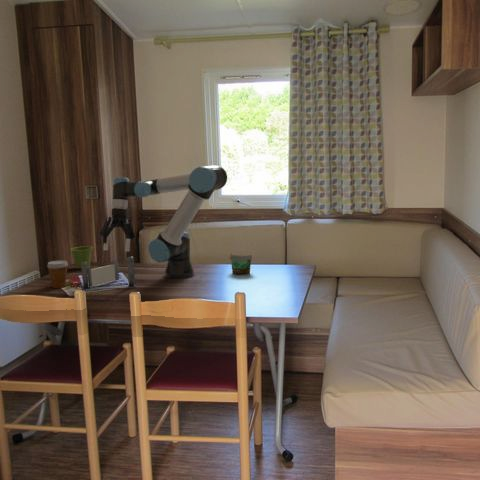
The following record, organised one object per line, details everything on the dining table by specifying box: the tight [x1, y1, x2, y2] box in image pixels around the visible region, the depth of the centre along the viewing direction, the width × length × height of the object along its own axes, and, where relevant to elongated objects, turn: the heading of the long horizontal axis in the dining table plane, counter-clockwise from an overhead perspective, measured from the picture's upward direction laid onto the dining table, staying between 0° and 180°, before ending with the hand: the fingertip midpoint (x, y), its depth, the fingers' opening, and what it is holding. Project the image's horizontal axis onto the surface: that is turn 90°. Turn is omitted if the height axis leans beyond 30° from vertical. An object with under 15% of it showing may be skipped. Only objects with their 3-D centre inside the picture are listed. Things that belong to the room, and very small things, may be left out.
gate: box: [87, 259, 120, 288], centre depth 254 cm, size 17×2×10 cm, turn 141°
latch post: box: [126, 255, 137, 289], centre depth 248 cm, size 4×4×15 cm
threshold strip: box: [90, 285, 128, 290], centre depth 248 cm, size 17×3×1 cm, turn 96°
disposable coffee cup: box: [46, 260, 69, 289], centre depth 251 cm, size 10×10×12 cm
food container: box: [229, 253, 253, 276], centre depth 271 cm, size 12×6×10 cm, turn 68°
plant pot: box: [69, 245, 93, 270], centre depth 291 cm, size 12×12×11 cm
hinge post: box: [81, 262, 91, 291], centre depth 245 cm, size 4×4×13 cm
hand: (116, 251), depth 259 cm, fingers open, 13 cm apart
